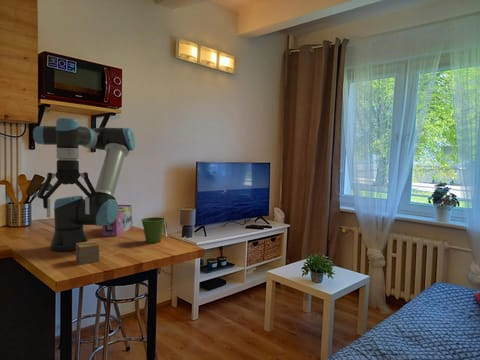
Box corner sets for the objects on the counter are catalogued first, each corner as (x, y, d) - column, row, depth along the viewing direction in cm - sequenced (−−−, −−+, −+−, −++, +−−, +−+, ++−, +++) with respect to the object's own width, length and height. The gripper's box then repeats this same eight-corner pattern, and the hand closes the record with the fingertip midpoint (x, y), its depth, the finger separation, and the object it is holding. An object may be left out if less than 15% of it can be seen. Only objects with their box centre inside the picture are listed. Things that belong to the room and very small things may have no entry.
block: (76, 260, 139) (76, 243, 139) (94, 257, 143) (94, 240, 143) (80, 264, 133) (79, 246, 133) (99, 261, 138) (98, 244, 137)
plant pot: (159, 237, 180) (159, 216, 179) (169, 242, 170) (169, 219, 169) (137, 240, 172) (137, 218, 172) (146, 245, 163) (146, 222, 162)
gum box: (115, 237, 180) (115, 211, 179) (100, 236, 180) (100, 210, 179) (132, 227, 204) (132, 204, 203) (118, 227, 204) (118, 204, 203)
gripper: (31, 159, 120) (32, 220, 121) (104, 160, 136) (105, 213, 137) (27, 159, 126) (29, 217, 127) (98, 160, 142) (99, 211, 143)
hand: (68, 215), depth 132 cm, fingers open, 13 cm apart
